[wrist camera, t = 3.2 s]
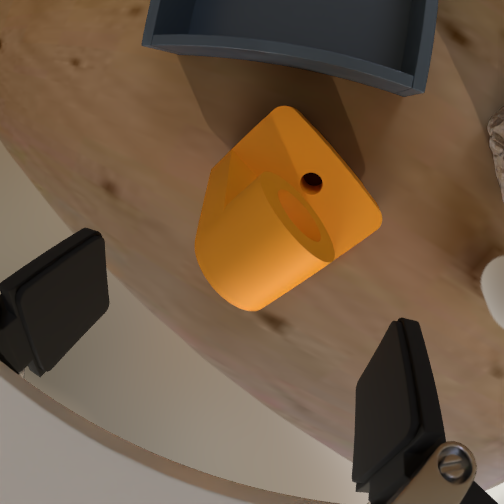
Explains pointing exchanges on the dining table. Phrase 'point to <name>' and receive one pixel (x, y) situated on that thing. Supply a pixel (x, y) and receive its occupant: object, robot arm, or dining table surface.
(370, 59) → the tray
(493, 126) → the rock
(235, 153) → the bracket
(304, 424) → the dining table surface
